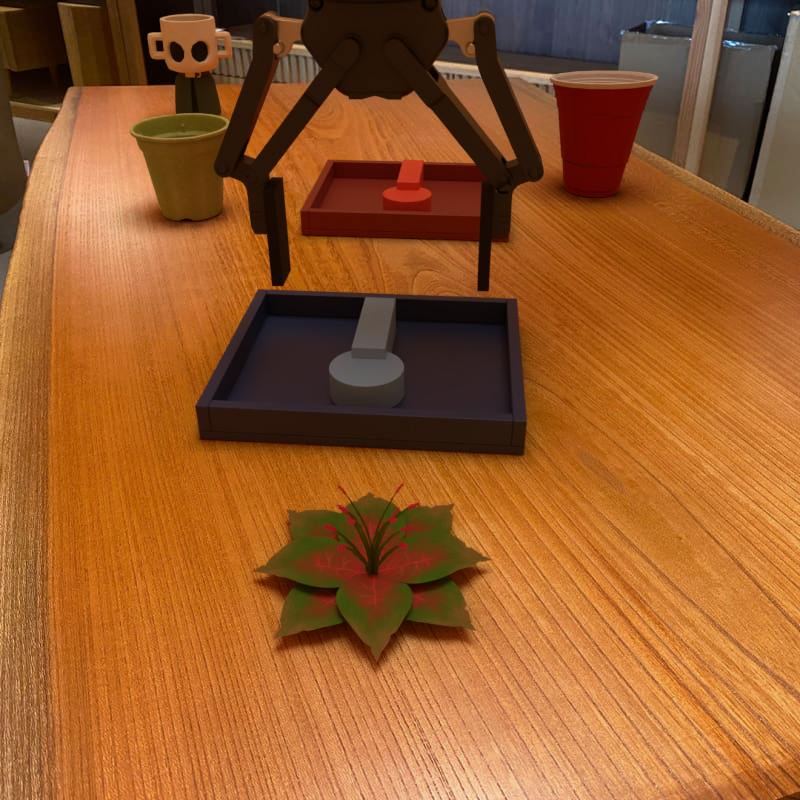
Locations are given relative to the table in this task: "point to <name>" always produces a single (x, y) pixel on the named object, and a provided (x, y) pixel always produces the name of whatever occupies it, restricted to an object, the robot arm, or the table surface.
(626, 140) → the plastic cup
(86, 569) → the table surface
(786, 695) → the table surface
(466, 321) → the navy tray
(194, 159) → the plant pot
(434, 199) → the brick tray
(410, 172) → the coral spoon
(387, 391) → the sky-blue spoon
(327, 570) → the lily flower
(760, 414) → the table surface
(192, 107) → the pink mug head figurine
